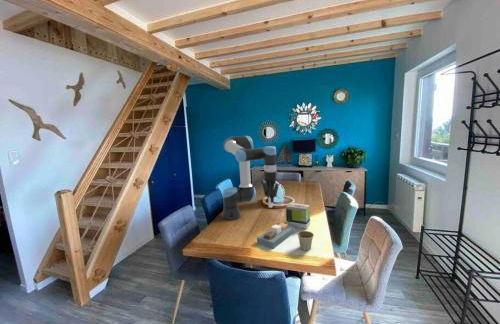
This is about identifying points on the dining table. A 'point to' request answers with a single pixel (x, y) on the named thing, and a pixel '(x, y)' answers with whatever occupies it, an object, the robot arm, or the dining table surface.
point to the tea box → (298, 215)
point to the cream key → (276, 229)
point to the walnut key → (269, 235)
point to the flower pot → (305, 239)
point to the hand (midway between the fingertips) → (270, 206)
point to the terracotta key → (283, 226)
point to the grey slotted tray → (277, 238)
